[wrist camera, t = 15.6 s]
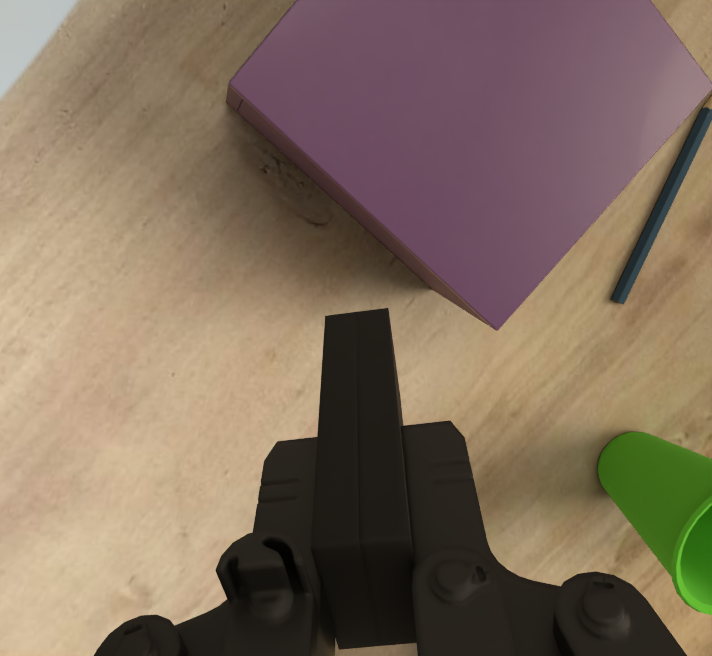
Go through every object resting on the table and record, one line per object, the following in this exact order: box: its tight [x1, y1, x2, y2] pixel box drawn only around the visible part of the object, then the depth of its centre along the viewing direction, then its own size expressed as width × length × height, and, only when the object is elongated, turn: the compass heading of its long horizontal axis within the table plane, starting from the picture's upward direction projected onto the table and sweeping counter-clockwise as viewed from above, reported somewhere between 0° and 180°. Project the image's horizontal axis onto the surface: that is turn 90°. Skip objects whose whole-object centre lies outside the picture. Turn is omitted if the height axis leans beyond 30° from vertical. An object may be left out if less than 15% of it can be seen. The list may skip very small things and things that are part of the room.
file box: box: [226, 85, 488, 325], centre depth 33 cm, size 15×17×9 cm
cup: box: [598, 432, 712, 615], centre depth 41 cm, size 9×9×11 cm
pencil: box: [611, 96, 712, 304], centre depth 41 cm, size 1×1×15 cm
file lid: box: [228, 0, 712, 330], centre depth 28 cm, size 15×17×1 cm
